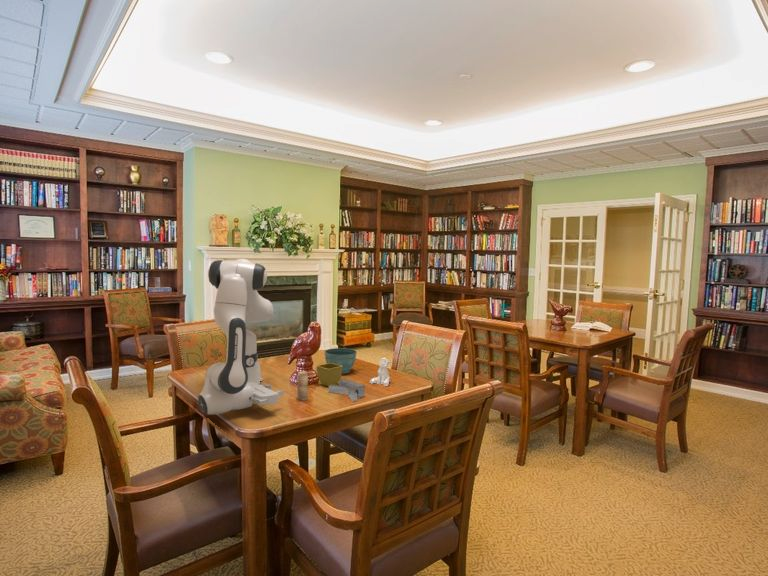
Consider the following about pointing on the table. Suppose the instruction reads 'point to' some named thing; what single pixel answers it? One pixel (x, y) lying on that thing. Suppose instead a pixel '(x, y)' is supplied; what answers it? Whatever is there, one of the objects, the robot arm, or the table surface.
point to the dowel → (302, 386)
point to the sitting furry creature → (382, 373)
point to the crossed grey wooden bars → (348, 389)
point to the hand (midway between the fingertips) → (276, 389)
